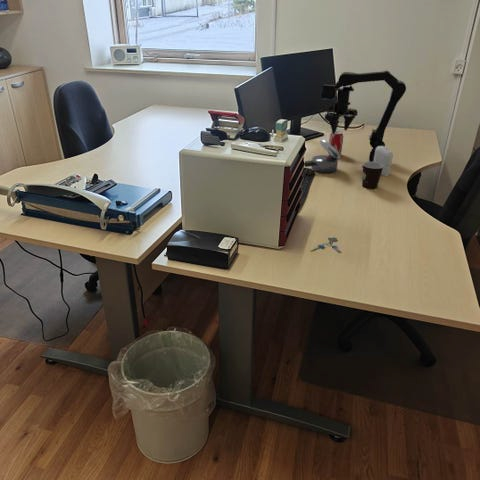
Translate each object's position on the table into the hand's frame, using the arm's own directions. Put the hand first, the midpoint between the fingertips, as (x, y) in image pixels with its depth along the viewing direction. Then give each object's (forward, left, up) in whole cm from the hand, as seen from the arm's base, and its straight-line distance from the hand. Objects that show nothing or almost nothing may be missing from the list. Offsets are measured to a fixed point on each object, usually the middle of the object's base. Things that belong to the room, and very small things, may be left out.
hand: (339, 131), depth 222 cm
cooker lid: (-1, +19, -4) cm, 19 cm away
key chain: (-25, +91, -14) cm, 95 cm away
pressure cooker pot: (+2, +22, -13) cm, 26 cm away
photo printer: (-25, +11, -14) cm, 30 cm away
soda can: (+2, -4, -14) cm, 14 cm away
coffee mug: (-24, +30, -14) cm, 41 cm away
